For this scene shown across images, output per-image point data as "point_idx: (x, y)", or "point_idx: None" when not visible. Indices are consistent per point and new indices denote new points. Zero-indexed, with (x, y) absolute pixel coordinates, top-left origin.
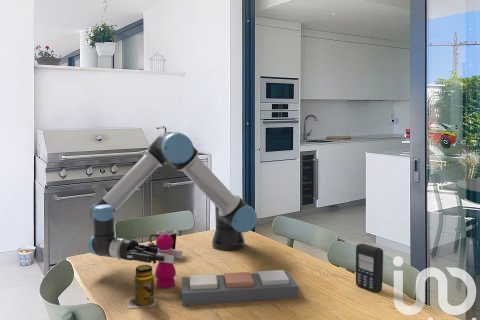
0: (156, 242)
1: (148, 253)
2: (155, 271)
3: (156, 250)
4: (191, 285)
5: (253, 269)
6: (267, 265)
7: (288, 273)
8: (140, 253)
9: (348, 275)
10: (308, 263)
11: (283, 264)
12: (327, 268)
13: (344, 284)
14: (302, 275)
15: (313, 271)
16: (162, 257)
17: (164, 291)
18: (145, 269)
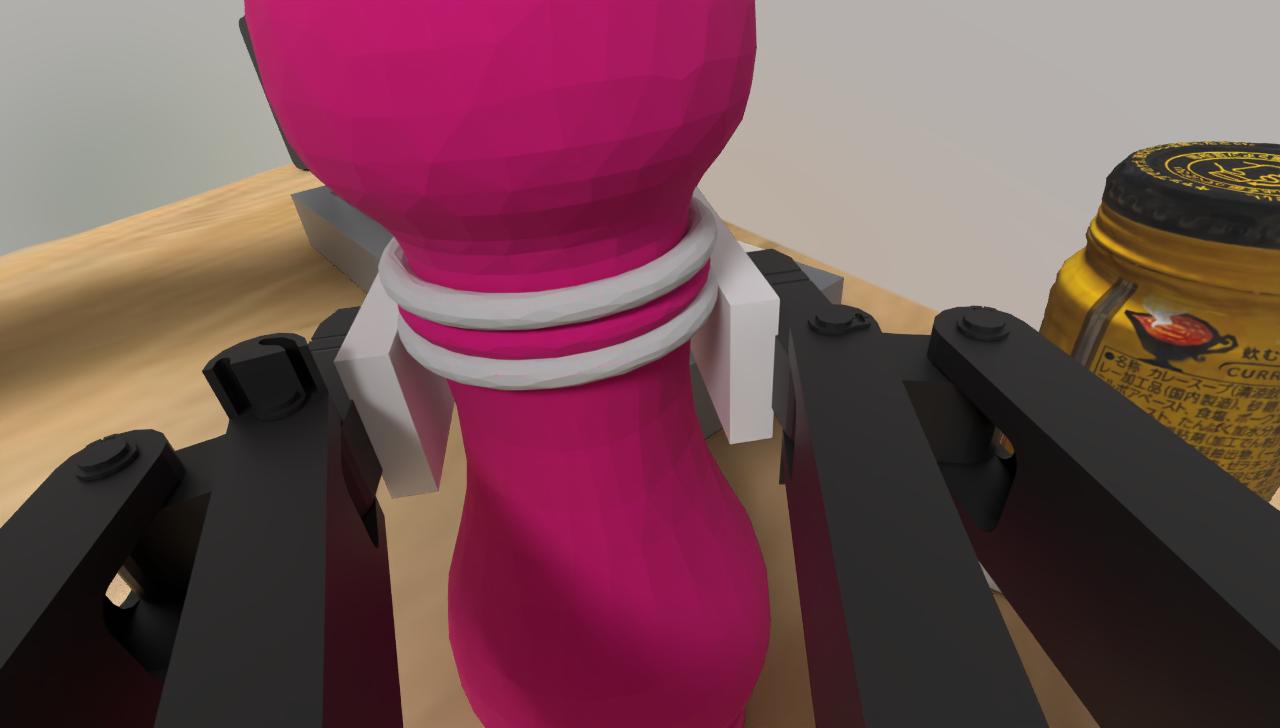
0: (740, 19)
1: (923, 442)
2: (728, 684)
3: (351, 670)
4: (755, 248)
5: (87, 378)
6: (5, 361)
7: (322, 187)
8: (1265, 628)
9: (213, 194)
10: (19, 276)
11: (6, 324)
12: (118, 232)
13: (309, 182)
14: (215, 245)
15: (158, 242)
16: (773, 252)
17: (773, 579)
18: (1243, 144)
